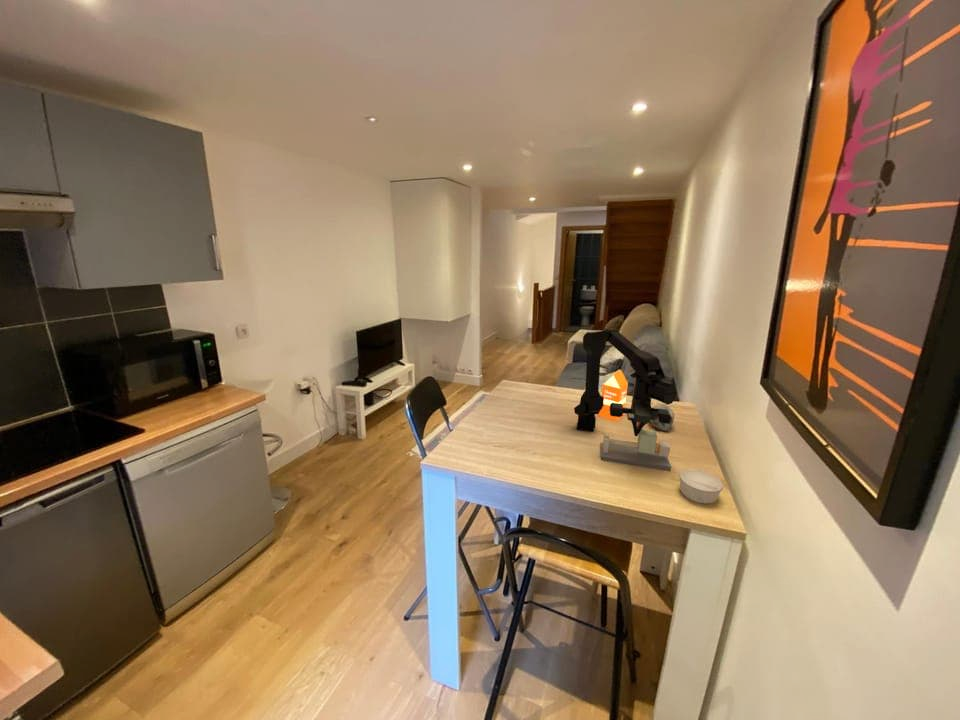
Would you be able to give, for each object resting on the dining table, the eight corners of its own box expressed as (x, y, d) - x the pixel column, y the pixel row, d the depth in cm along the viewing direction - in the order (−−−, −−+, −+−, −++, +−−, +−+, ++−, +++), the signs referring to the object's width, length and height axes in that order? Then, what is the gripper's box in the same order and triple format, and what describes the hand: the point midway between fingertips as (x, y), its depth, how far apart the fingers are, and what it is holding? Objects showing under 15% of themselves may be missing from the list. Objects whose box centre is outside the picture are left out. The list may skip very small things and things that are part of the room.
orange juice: (598, 415, 164) (603, 372, 159) (606, 409, 171) (612, 367, 165) (616, 421, 159) (622, 376, 154) (624, 414, 166) (630, 371, 160)
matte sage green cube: (638, 451, 128) (641, 434, 126) (636, 445, 132) (639, 428, 130) (654, 454, 127) (657, 436, 125) (652, 447, 131) (655, 430, 129)
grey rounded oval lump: (678, 428, 146) (669, 403, 148) (653, 434, 151) (644, 410, 152) (678, 423, 159) (669, 400, 160) (655, 428, 163) (646, 406, 164)
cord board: (600, 460, 129) (602, 442, 128) (599, 446, 139) (601, 429, 137) (670, 471, 124) (673, 452, 122) (664, 455, 133) (668, 438, 131)
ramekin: (688, 506, 107) (692, 490, 105) (669, 483, 118) (672, 468, 116) (728, 507, 107) (732, 491, 105) (705, 483, 118) (708, 468, 116)
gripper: (614, 398, 119) (608, 442, 124) (678, 406, 115) (669, 451, 119) (612, 386, 130) (606, 427, 134) (671, 393, 125) (663, 435, 129)
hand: (635, 435), depth 129 cm, fingers closed
